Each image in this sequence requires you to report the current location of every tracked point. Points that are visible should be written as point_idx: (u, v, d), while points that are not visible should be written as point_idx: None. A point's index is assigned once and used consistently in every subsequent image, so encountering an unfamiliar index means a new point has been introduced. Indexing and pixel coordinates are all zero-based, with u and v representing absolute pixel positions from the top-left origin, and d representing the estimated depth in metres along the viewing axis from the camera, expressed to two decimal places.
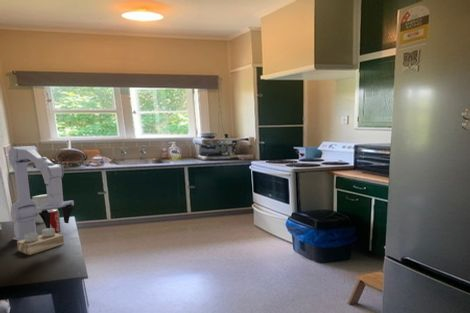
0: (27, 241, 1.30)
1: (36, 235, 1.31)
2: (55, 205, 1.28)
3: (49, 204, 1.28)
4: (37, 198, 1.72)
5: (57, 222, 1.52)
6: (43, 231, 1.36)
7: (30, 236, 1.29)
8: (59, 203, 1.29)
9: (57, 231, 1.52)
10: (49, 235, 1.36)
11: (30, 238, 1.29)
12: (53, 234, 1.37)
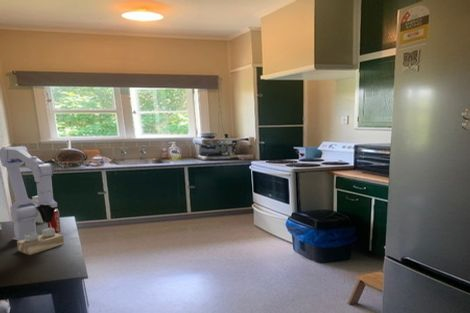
0: (27, 241, 1.30)
1: (36, 235, 1.31)
2: (37, 202, 1.35)
3: None
4: (37, 198, 1.73)
5: (57, 222, 1.52)
6: (43, 231, 1.36)
7: (30, 236, 1.29)
8: (38, 201, 1.34)
9: (57, 231, 1.52)
10: (49, 235, 1.36)
11: (30, 238, 1.29)
12: (53, 234, 1.37)
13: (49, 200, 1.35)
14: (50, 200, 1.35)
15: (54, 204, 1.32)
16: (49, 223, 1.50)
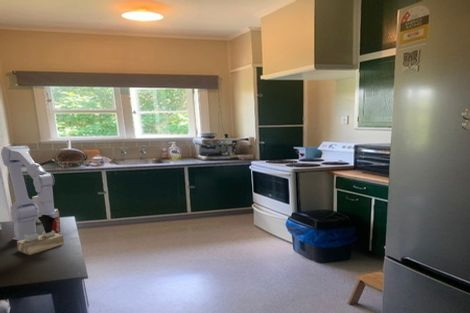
0: (27, 241, 1.30)
1: (36, 235, 1.31)
2: (38, 212, 1.35)
3: None
4: (37, 198, 1.72)
5: (57, 222, 1.52)
6: (43, 234, 1.36)
7: (30, 236, 1.29)
8: (39, 211, 1.34)
9: (57, 231, 1.52)
10: None
11: (30, 238, 1.29)
12: None
13: (50, 210, 1.35)
14: (51, 210, 1.36)
15: (55, 214, 1.33)
16: None
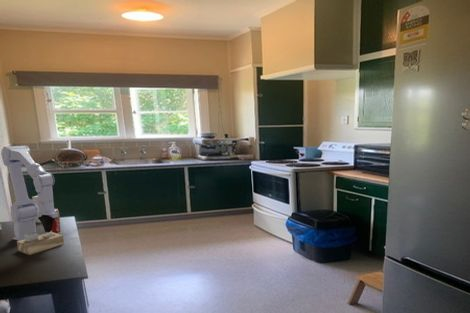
0: (27, 241, 1.30)
1: (36, 235, 1.31)
2: (38, 212, 1.35)
3: None
4: (37, 198, 1.72)
5: (57, 222, 1.52)
6: None
7: (30, 236, 1.29)
8: (39, 211, 1.34)
9: (57, 231, 1.52)
10: None
11: (30, 238, 1.29)
12: None
13: (50, 210, 1.35)
14: (51, 210, 1.36)
15: (55, 214, 1.33)
16: None
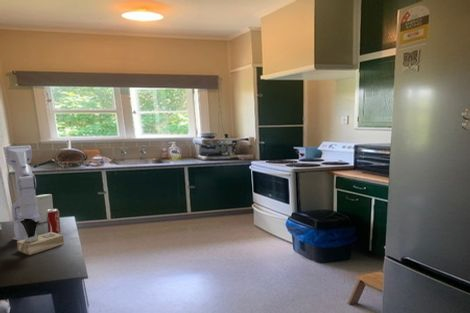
0: None
1: (36, 237, 1.31)
2: (20, 215, 1.29)
3: None
4: (37, 198, 1.72)
5: (57, 222, 1.52)
6: None
7: (30, 238, 1.29)
8: (21, 215, 1.28)
9: (57, 231, 1.52)
10: None
11: (30, 240, 1.29)
12: None
13: (32, 214, 1.29)
14: (34, 214, 1.30)
15: (37, 218, 1.27)
16: (49, 223, 1.50)
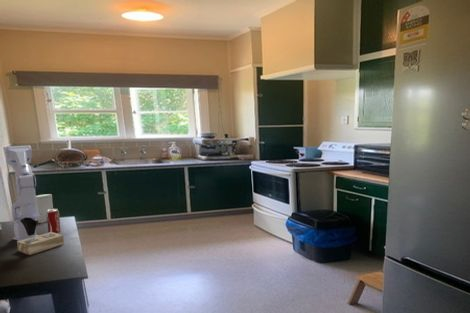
0: None
1: None
2: (20, 214, 1.29)
3: None
4: (37, 198, 1.73)
5: (57, 222, 1.52)
6: None
7: None
8: (21, 214, 1.28)
9: (57, 231, 1.52)
10: None
11: None
12: None
13: (32, 213, 1.29)
14: (33, 213, 1.30)
15: (37, 217, 1.27)
16: (49, 223, 1.50)
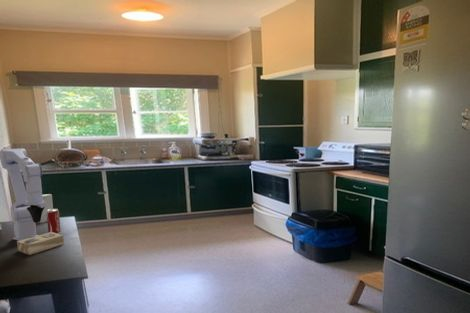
0: None
1: None
2: (27, 202, 1.35)
3: None
4: None
5: (57, 222, 1.52)
6: None
7: None
8: (28, 201, 1.34)
9: (57, 231, 1.52)
10: None
11: None
12: None
13: (38, 200, 1.35)
14: (39, 200, 1.35)
15: (43, 204, 1.32)
16: (49, 223, 1.50)
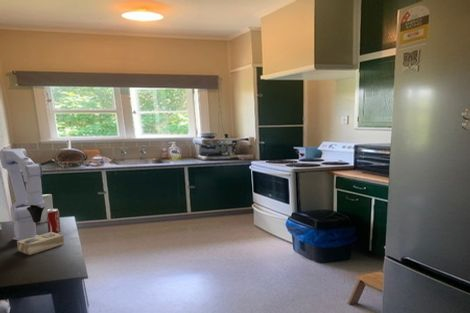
0: None
1: None
2: (27, 202, 1.35)
3: None
4: None
5: (57, 222, 1.52)
6: None
7: None
8: (28, 201, 1.34)
9: (57, 231, 1.52)
10: None
11: None
12: None
13: (38, 200, 1.35)
14: (39, 200, 1.35)
15: (43, 204, 1.32)
16: (49, 223, 1.50)
